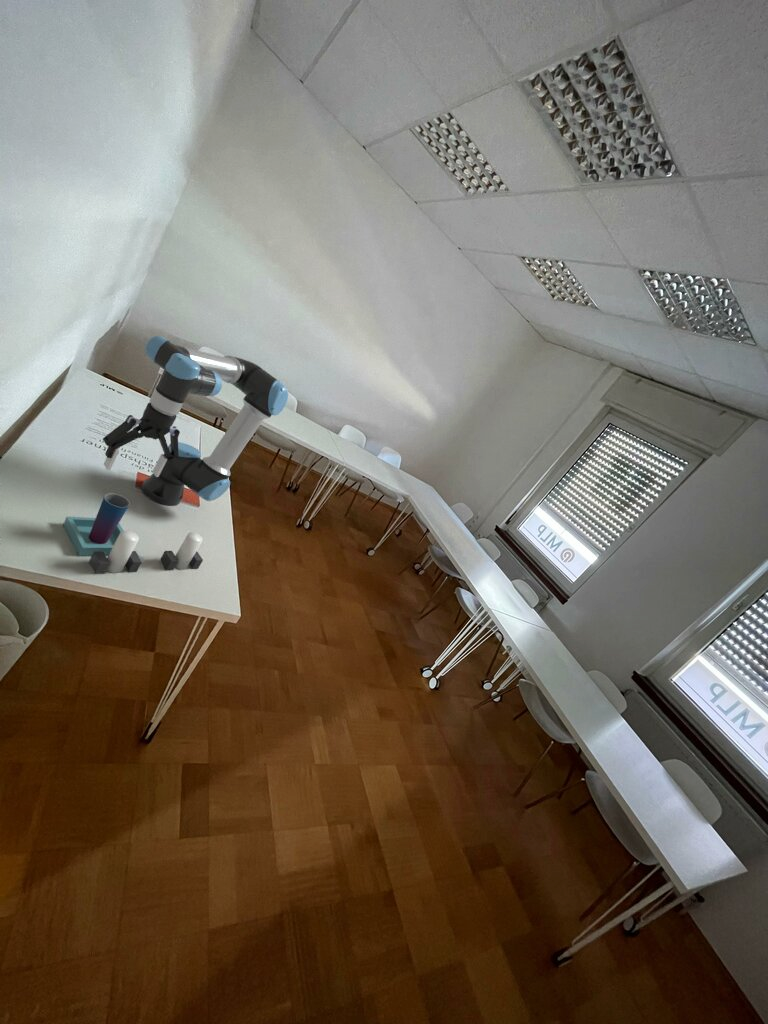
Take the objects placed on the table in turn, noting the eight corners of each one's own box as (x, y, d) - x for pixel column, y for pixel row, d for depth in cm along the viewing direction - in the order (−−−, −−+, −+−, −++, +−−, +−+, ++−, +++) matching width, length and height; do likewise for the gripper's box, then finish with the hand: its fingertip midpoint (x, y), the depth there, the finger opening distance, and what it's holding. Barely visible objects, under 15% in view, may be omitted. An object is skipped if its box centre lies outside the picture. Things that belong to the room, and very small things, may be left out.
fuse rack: (191, 559, 147) (206, 532, 144) (197, 568, 145) (213, 542, 142) (88, 562, 119) (105, 529, 116) (94, 574, 117) (111, 541, 114)
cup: (115, 539, 132) (134, 502, 128) (102, 549, 125) (122, 510, 121) (93, 528, 130) (112, 490, 126) (80, 537, 124) (99, 498, 120)
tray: (112, 526, 137) (116, 519, 136) (129, 555, 131) (133, 547, 130) (62, 524, 125) (66, 516, 124) (78, 556, 119) (82, 547, 118)
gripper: (197, 413, 127) (167, 469, 133) (109, 387, 106) (78, 455, 112) (209, 426, 124) (178, 484, 130) (120, 402, 103) (88, 472, 108)
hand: (132, 470), depth 121 cm, fingers open, 13 cm apart
